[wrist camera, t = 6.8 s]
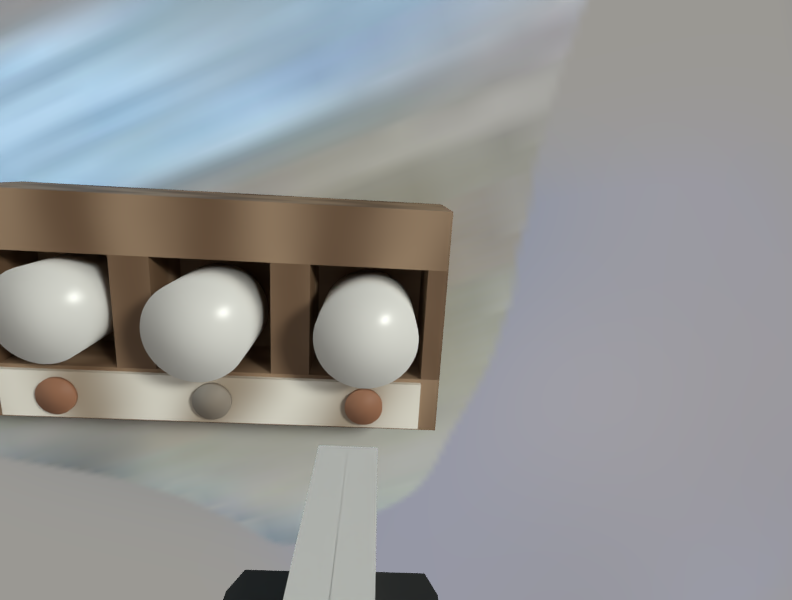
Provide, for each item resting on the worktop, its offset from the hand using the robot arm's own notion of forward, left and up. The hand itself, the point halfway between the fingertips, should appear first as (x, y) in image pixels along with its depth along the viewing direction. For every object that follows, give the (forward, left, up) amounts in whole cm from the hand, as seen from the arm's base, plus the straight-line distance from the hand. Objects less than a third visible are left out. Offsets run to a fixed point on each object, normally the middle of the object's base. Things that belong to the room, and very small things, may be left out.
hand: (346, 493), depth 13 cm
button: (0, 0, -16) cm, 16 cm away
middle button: (-8, 0, -16) cm, 17 cm away
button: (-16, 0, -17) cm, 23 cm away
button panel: (-8, 0, -19) cm, 20 cm away
